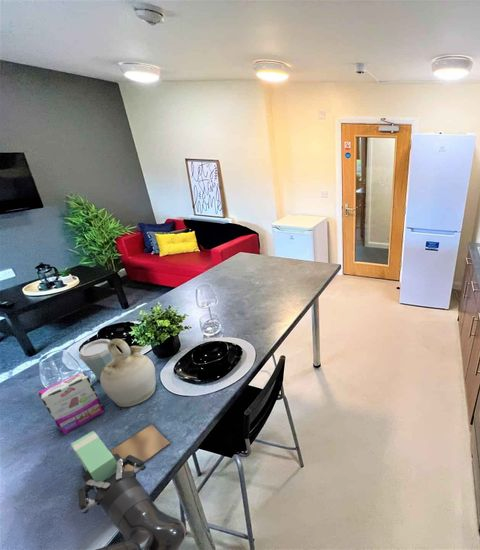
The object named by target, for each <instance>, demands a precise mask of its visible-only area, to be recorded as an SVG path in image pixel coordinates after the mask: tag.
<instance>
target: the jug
mask: <svg viewBox="0 0 480 550" xmlns="http://www.w3.org/2000/svg"><path fill="white" fill-rule="evenodd" d="M117 347H118V348H119V349H120V350H121V351H120V350H119V349H118V348H117ZM143 349H144V347H143V346H141V345H131V346H129V344H128V343H127V342H126V341H125V340H124V339H121V338H112V339H111V340H110V342H109V343H108V350H109V352H110V353H111V355H112V356H114V357H115V359H114V360H112V361H111V362H110V363H109V364H107V365H106V367H103V368H102V373H101V377H100V380H99V381H100V386H101V388H102V391H104V393H105V394H106V395H107V396H108V397H109V399H111V400H112V401H113V402H114V403H115V404H116V405H117V406H118V407H121V408H129V407H133V406H137V405H139V404H141V403H144V402H146V401H147V400H148V399H149V398H151V396H153V394H154V393H155V391H156V385H157V381H156V368H155V364H154V363H153V361H152V360H151V359H150V358H149V357H148V356H146V355H145V354H142V353H141V352H142V350H143Z"/></svg>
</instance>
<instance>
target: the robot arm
mask: <svg viewBox="0 0 480 550" xmlns="http://www.w3.org/2000/svg"><path fill="white" fill-rule="evenodd" d="M112 455H113V457H114V458H115V460H116V462H117V467H116V473H114V474H113V475H112V476H111V477H110V478H108V479H106V480H104V481H103V482H102V481H99V480H97V481H95V480H94V479H93V478H92V476H91V475H90V473H89V472H88V470H87V471H86V470H85V471H84V474H83V475H82V479H83V480H84V482H85V485H84V486H82V487H79V488H78V490H77V494H78V508H79V510H80V511H81V513H82V514H83V515H86V514H87V513H88V512H89V511H90V509H91V508H92V507H94V506H96V505H97V506H101V508H102V509H103V511H104V513H105V514H106V516H107V517H108V519H109V522H110V523H111V524H112V525H113V526H114V527H115V528H116V529H117V530H118V531H119V533H120V535H121V536H122V537H123V539H124V541H119V542H116V543H113V544H109V545H106V546H102V547H99V548H96V549H95V550H180V549H181V547H182V545H183V544H184V542H185V539H186V535H187V530H186V526H185V524H184V522H183V521H182V520H180V519H179V518H176V517H174V516H172V515H169V514H167V513H166V512H163V511H162V510H160V509H159V508H158V507H157V505H156V504H155V502H154V501H153V500H152V498H151V495H150V494H149V493H148V491H147V490H146V489H145V487H144V486H143V485H142V484H141V483H140V481H139V480H138V478H137V475H138V474H139V472H142V471H144V470H146V469H147V466H146V464H145V462H144V461H142V460H140V459H138V458H136V457H134V456H132V455H128V456H127V457H126V458H124V459H122V458H121V457H120V456H119V455H118V454H117V453H116V454H115V455H114V454H112ZM127 464H129V465H131V466H133V468H134V470H133V471H125V465H127ZM91 491H93V492H95V493H96V494H95V496H94V499H91V498H89V492H91ZM144 543H145V545H144V546H143V549H142V548H141V545H142V544H144Z"/></svg>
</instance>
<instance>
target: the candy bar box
mask: <svg viewBox="0 0 480 550" xmlns="http://www.w3.org/2000/svg"><path fill="white" fill-rule="evenodd" d="M37 394H38V396H39V398H40V400H41V401H42V403H43V405H44V406H45V408H46V410H47V411H48V413H49V415H50V416H51V418H52V419H53V421H54V423H55V425H56V427H57V428H58V430H59V431H60V432H61V434H62V435H63V436H64V435H67V434H68V433H70V432H71V431H74V430H75V429H77V428H79V427H80V426H82V425H84V424H86V423H88V422H89V421H91V420H94V418H95V419H96V418H97V417H99V416H101V415H102V414H104V413H105V412H106V410H105V408H104V406H103V404H102V402H101V399H100V398H99V396H98V394H97V392H96V390H95V387H94V386H93V383H92V381H91V380H90V377H89V376H88V375H87V374H86V372H85V371H84V370H83V371H79V372H78V373H76V374H74V375H71V376H69V377H67V378H64V379H63V380H60V381H58V382H55V383H54V384H51V385H49V386H47V387H44V388H43V389H41V390H38V391H37Z"/></svg>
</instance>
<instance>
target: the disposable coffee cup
mask: <svg viewBox="0 0 480 550" xmlns="http://www.w3.org/2000/svg"><path fill="white" fill-rule="evenodd" d="M110 341H111V340H110V339H108V338H100V339H96V340H93V341H90V342H88V343H86V344H85V345H83V346H82V347H81V349H80V350H79V354H78V357H79V360H81V361H82V362H83V363H84V364H85V365H86V366H87V367H88V369H89V370H90V371H91V372H92V374H94V376H95V377H96V378H97V379H98V380H99V381H100V377H101V373H102V368H103V367H106V365H107V364H109V363H110V362H111V361H112V360H114V359H115V357H114V356H112V355H111V353H110V352H109V350H108V343H109V342H110Z"/></svg>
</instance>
